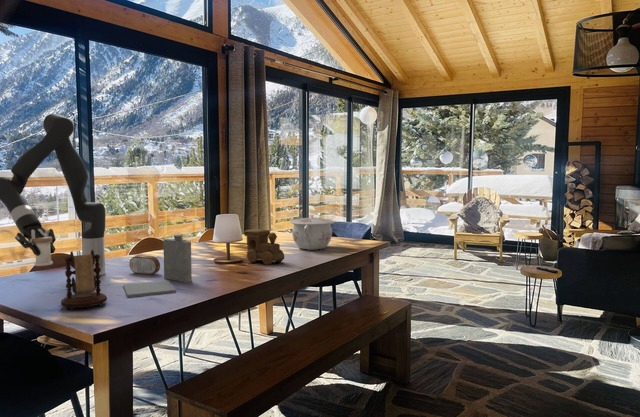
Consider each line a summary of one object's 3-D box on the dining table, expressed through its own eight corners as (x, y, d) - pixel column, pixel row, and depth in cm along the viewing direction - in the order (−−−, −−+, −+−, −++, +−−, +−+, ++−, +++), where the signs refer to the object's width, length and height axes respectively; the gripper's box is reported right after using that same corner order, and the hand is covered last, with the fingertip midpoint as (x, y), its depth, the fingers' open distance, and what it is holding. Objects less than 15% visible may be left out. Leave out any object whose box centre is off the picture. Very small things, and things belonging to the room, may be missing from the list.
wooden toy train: (243, 261, 257) (242, 230, 255) (257, 258, 266) (257, 228, 265) (272, 266, 246) (272, 233, 244) (286, 262, 255) (286, 231, 254)
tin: (160, 274, 227) (160, 256, 226) (156, 275, 224) (156, 257, 223) (132, 272, 231) (132, 254, 231) (128, 273, 228) (128, 255, 228)
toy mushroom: (30, 264, 183) (28, 238, 182) (46, 261, 189) (45, 236, 188) (40, 266, 180) (39, 239, 179) (56, 263, 186) (55, 237, 185)
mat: (123, 286, 202) (123, 284, 202) (168, 282, 210) (168, 280, 210) (127, 297, 186) (127, 294, 186) (175, 292, 194) (175, 289, 194)
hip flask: (162, 278, 219) (161, 233, 217) (169, 276, 222) (168, 232, 220) (187, 282, 210) (186, 236, 208) (194, 281, 214) (194, 235, 212)
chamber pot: (315, 243, 320) (315, 211, 318) (343, 249, 298) (344, 215, 297) (280, 247, 302) (280, 214, 300) (307, 254, 281) (307, 218, 279)
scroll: (64, 314, 165) (62, 255, 163) (58, 304, 177) (55, 249, 175) (111, 307, 174) (109, 251, 172) (101, 297, 186) (100, 245, 184)
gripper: (10, 214, 180) (31, 249, 175) (47, 211, 193) (68, 244, 188) (2, 228, 183) (23, 262, 178) (40, 223, 196) (60, 256, 191)
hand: (46, 253), depth 183 cm, fingers closed on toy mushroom, 5 cm apart
